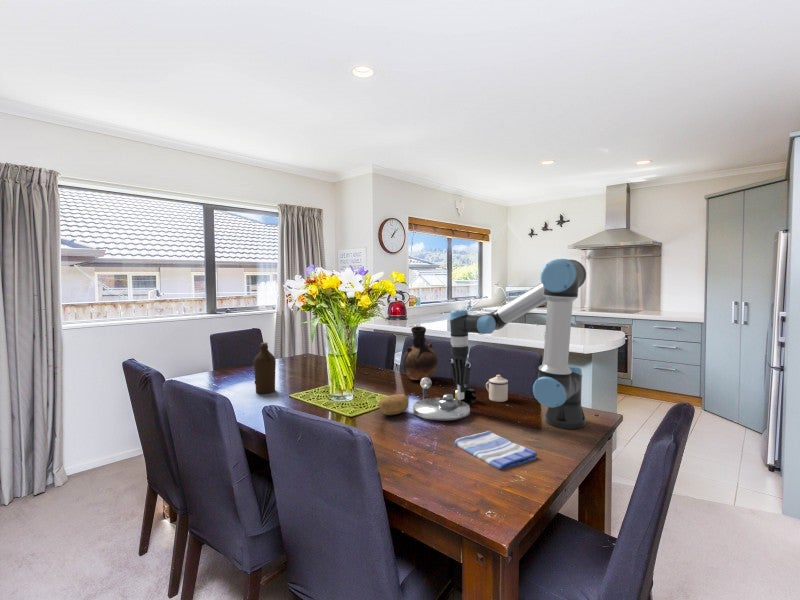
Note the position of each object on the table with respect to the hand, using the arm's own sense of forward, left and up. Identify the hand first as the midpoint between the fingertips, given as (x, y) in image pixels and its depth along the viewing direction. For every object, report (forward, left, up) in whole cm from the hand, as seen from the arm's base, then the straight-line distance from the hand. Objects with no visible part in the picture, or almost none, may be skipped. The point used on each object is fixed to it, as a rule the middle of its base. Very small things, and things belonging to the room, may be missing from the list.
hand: (461, 399), depth 184 cm
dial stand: (+12, +13, -5) cm, 19 cm away
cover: (-4, +7, -2) cm, 9 cm away
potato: (+1, +30, -5) cm, 30 cm away
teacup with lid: (+12, -22, -5) cm, 26 cm away
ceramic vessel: (+55, +4, -5) cm, 56 cm away
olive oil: (+50, +87, -5) cm, 101 cm away
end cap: (+10, -5, -5) cm, 13 cm away
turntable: (-3, +10, -4) cm, 11 cm away
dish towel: (-42, +4, -6) cm, 43 cm away
